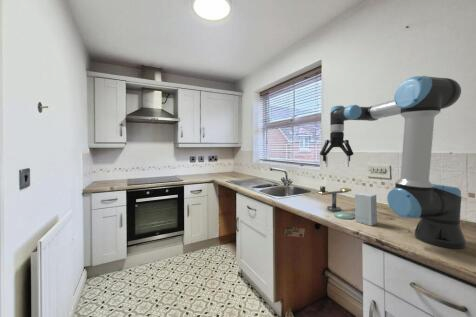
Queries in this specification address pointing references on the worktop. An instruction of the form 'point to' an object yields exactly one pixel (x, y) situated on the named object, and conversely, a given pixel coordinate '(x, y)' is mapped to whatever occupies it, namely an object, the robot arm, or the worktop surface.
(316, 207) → the worktop surface
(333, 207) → the post
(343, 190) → the balance beam
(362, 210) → the skincare box
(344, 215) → the dish green
